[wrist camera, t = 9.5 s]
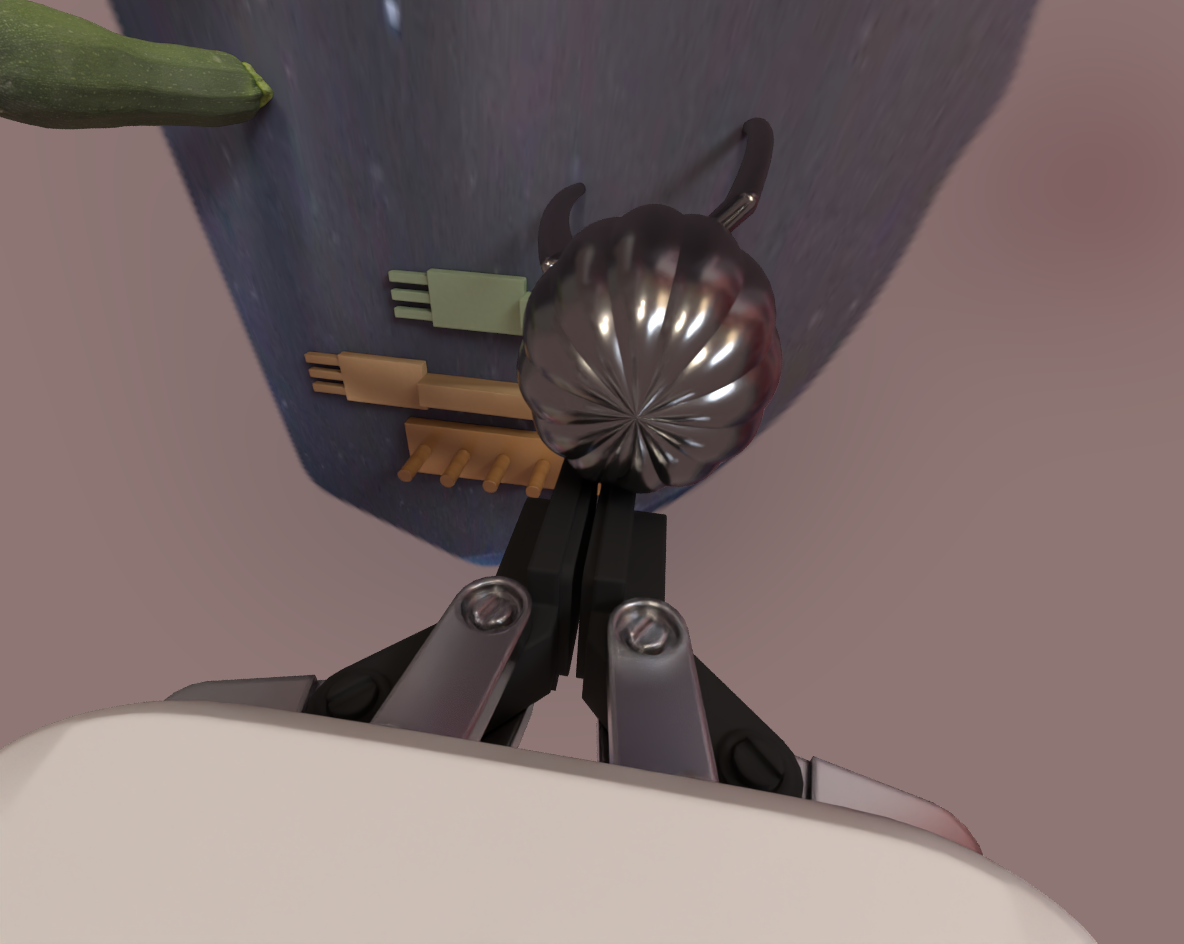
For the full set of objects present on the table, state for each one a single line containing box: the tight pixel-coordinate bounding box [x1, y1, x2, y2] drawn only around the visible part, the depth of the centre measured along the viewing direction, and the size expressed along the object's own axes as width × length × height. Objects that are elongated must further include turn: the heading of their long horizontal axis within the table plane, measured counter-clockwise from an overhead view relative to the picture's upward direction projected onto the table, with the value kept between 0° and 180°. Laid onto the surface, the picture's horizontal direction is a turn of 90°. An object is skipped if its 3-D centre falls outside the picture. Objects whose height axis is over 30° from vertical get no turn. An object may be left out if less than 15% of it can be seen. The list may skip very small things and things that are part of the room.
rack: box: [398, 417, 601, 498], centre depth 43 cm, size 5×17×5 cm, turn 87°
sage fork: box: [388, 268, 531, 336], centre depth 36 cm, size 4×21×2 cm, turn 87°
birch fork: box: [304, 351, 533, 420], centre depth 41 cm, size 4×21×2 cm, turn 86°
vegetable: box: [0, 0, 274, 129], centre depth 24 cm, size 4×4×20 cm
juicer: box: [517, 118, 782, 494], centre depth 19 cm, size 10×11×30 cm
